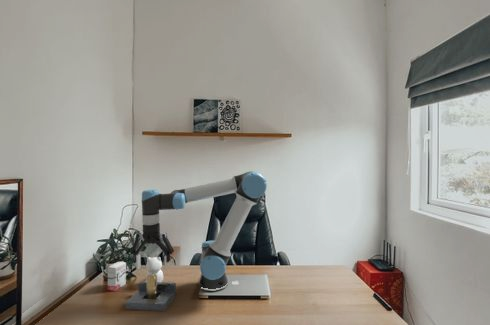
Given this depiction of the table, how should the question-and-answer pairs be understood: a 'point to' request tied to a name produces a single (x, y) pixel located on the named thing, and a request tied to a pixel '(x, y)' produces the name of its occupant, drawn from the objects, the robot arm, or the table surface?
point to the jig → (162, 301)
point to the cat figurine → (154, 267)
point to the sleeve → (152, 286)
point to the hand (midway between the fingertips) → (152, 268)
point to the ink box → (116, 276)
